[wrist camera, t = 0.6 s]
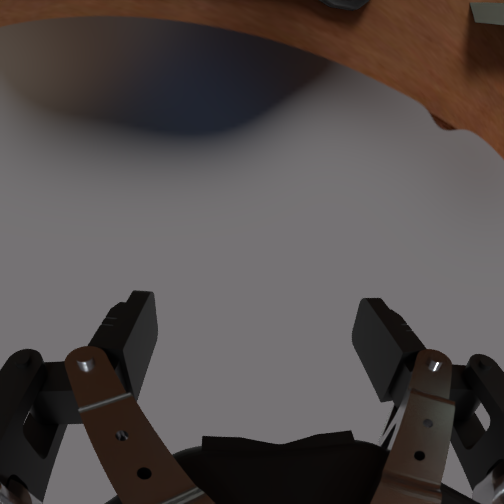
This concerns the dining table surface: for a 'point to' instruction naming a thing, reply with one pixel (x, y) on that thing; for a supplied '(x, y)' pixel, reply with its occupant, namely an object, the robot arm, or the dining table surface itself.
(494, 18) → the door
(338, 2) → the zipper pull
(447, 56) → the dining table surface
